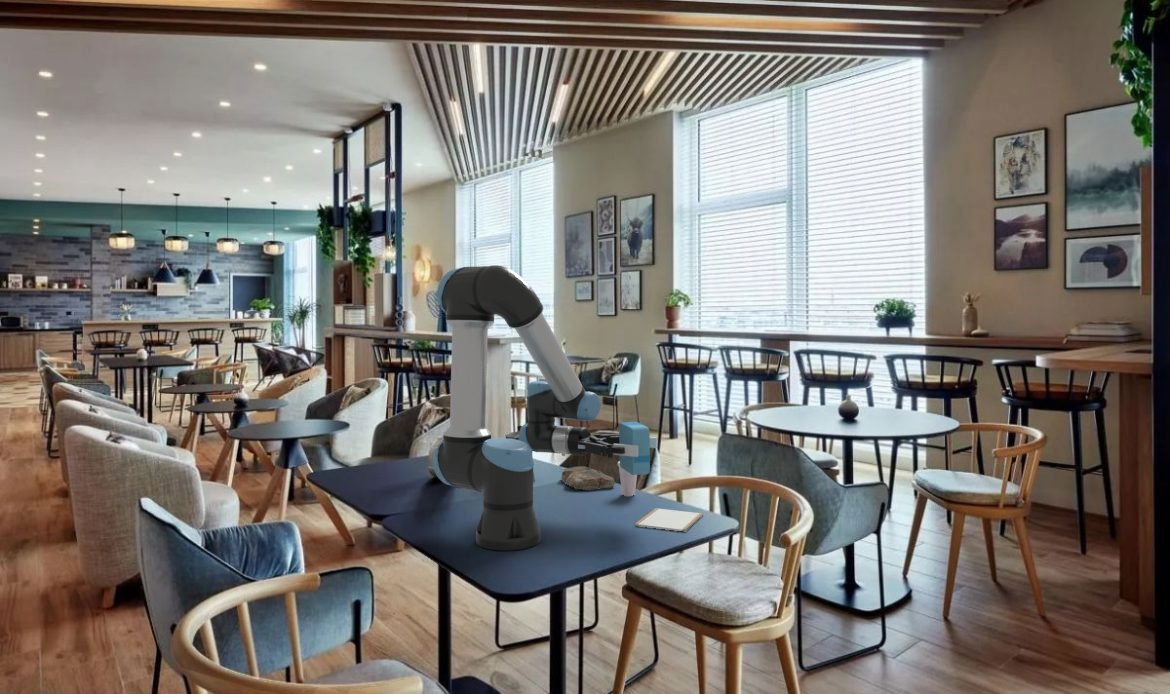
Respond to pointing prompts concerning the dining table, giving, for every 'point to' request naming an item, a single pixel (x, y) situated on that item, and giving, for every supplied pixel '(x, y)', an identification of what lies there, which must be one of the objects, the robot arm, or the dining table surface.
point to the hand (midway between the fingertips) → (647, 446)
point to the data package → (638, 436)
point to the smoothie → (627, 482)
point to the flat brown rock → (586, 478)
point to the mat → (669, 519)
